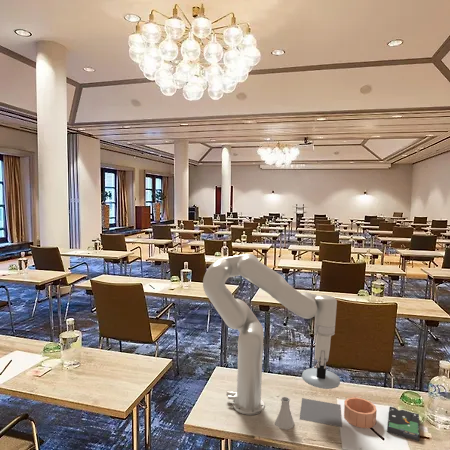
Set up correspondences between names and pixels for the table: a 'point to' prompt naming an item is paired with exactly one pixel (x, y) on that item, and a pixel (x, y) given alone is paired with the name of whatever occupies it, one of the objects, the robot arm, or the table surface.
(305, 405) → the mat
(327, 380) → the lid
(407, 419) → the disk drive
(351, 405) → the bowl
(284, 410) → the flask
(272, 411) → the table surface
